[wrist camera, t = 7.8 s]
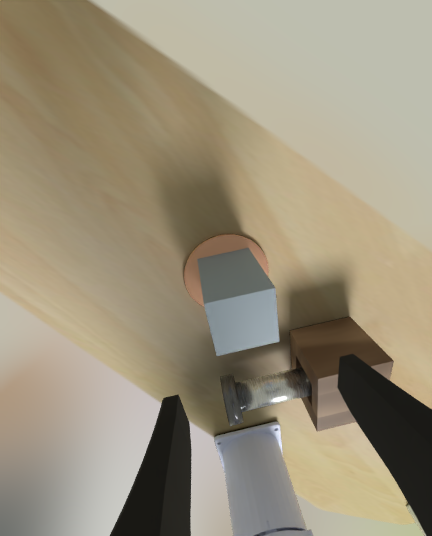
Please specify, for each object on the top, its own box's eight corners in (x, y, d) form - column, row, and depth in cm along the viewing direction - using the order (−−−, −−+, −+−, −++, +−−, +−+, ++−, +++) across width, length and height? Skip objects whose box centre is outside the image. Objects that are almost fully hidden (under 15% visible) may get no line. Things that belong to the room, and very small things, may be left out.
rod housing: (345, 366, 27) (381, 415, 22) (292, 379, 27) (317, 431, 22) (349, 316, 24) (393, 361, 19) (289, 330, 23) (318, 378, 19)
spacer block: (254, 290, 21) (279, 341, 15) (207, 301, 20) (216, 356, 15) (248, 247, 19) (275, 287, 13) (197, 258, 19) (203, 303, 13)
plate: (270, 299, 22) (271, 301, 21) (194, 316, 21) (194, 318, 21) (263, 225, 18) (264, 226, 18) (174, 244, 18) (174, 246, 18)
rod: (305, 375, 25) (325, 413, 22) (225, 394, 25) (232, 435, 21) (304, 347, 23) (326, 383, 20) (218, 367, 23) (225, 407, 19)
